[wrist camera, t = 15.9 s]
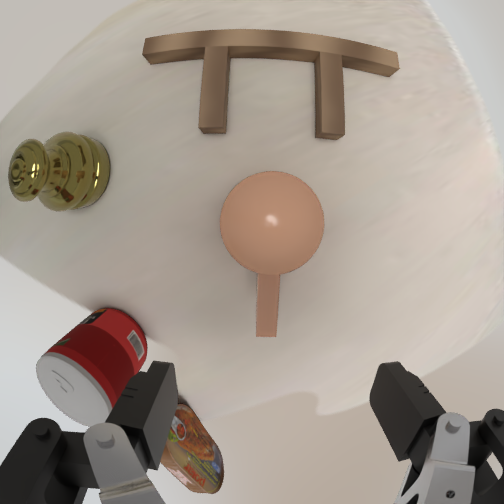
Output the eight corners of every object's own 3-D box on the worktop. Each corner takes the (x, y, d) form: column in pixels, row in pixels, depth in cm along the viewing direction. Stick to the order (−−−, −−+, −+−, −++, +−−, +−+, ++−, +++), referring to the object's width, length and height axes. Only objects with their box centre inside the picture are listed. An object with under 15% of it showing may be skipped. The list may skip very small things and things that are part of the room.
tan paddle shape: (233, 178, 24) (220, 170, 15) (301, 180, 24) (326, 174, 15) (231, 297, 26) (221, 346, 18) (294, 298, 26) (312, 347, 17)
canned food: (100, 292, 26) (38, 338, 16) (161, 334, 27) (120, 400, 17) (83, 339, 28) (32, 389, 17) (136, 376, 29) (100, 439, 18)
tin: (227, 458, 32) (223, 503, 24) (207, 460, 32) (200, 503, 24) (180, 389, 29) (162, 440, 21) (158, 392, 29) (137, 441, 21)
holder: (142, 137, 23) (131, 132, 21) (153, 49, 21) (145, 38, 19) (393, 148, 23) (405, 145, 21) (387, 61, 21) (397, 52, 19)
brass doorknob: (70, 219, 25) (5, 235, 15) (51, 160, 23) (-13, 156, 14) (121, 187, 24) (57, 188, 14) (99, 124, 23) (37, 102, 13)
